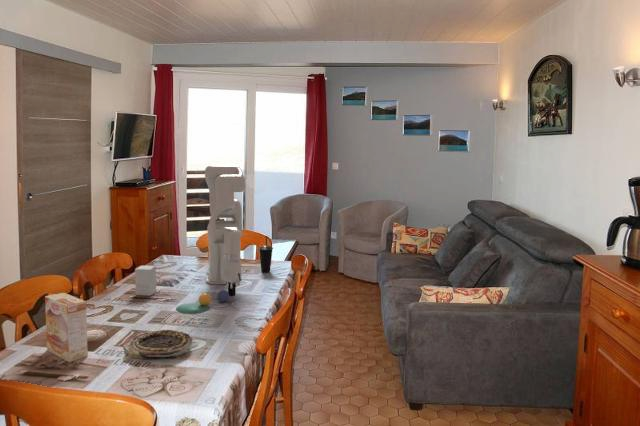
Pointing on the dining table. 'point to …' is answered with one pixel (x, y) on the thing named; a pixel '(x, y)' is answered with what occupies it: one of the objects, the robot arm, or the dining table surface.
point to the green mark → (192, 308)
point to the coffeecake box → (66, 326)
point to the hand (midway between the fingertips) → (231, 295)
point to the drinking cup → (265, 257)
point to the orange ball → (204, 299)
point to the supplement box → (145, 280)
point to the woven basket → (158, 345)
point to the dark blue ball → (223, 296)
